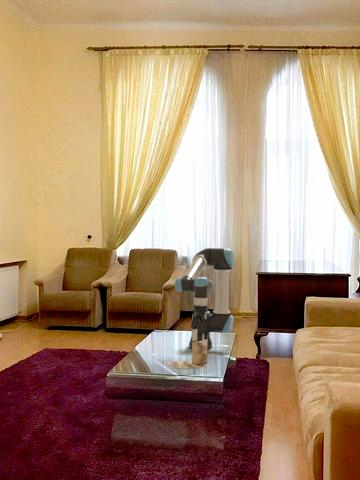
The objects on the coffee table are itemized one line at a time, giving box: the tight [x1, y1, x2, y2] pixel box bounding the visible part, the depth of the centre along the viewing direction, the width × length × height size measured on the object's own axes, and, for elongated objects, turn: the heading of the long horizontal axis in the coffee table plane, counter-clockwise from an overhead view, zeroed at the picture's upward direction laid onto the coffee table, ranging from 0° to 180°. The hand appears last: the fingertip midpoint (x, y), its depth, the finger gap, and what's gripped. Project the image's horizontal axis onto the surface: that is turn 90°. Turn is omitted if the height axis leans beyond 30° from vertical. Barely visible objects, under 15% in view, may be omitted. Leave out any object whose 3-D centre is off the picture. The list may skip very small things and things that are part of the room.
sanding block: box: [191, 341, 208, 365], centre depth 306 cm, size 7×5×12 cm
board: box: [166, 359, 211, 370], centre depth 303 cm, size 20×16×1 cm
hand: (199, 343), depth 306 cm, fingers open, 13 cm apart
